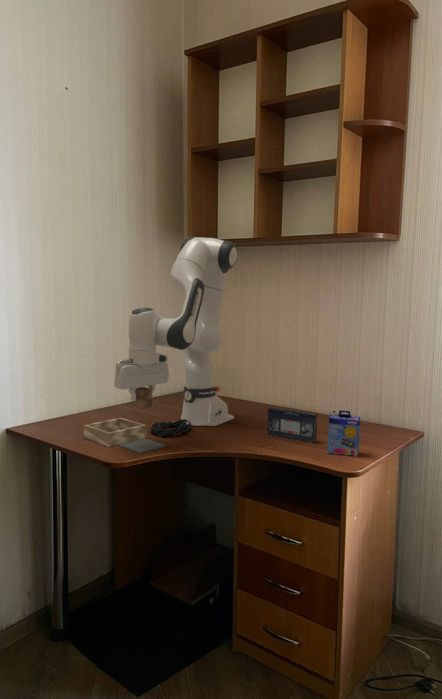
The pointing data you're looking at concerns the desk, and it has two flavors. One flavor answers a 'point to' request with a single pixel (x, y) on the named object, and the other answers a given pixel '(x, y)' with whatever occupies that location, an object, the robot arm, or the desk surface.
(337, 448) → the ink cartridge box
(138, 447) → the pad
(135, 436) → the crate
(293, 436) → the vhs cassette tape
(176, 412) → the desk surface
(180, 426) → the cable
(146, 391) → the block
